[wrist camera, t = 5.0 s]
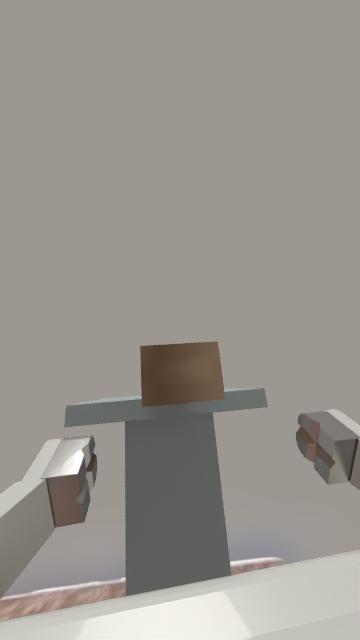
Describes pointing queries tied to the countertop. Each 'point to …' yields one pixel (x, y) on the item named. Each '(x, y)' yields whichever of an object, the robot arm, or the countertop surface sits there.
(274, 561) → the countertop surface
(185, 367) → the block
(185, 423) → the stand
